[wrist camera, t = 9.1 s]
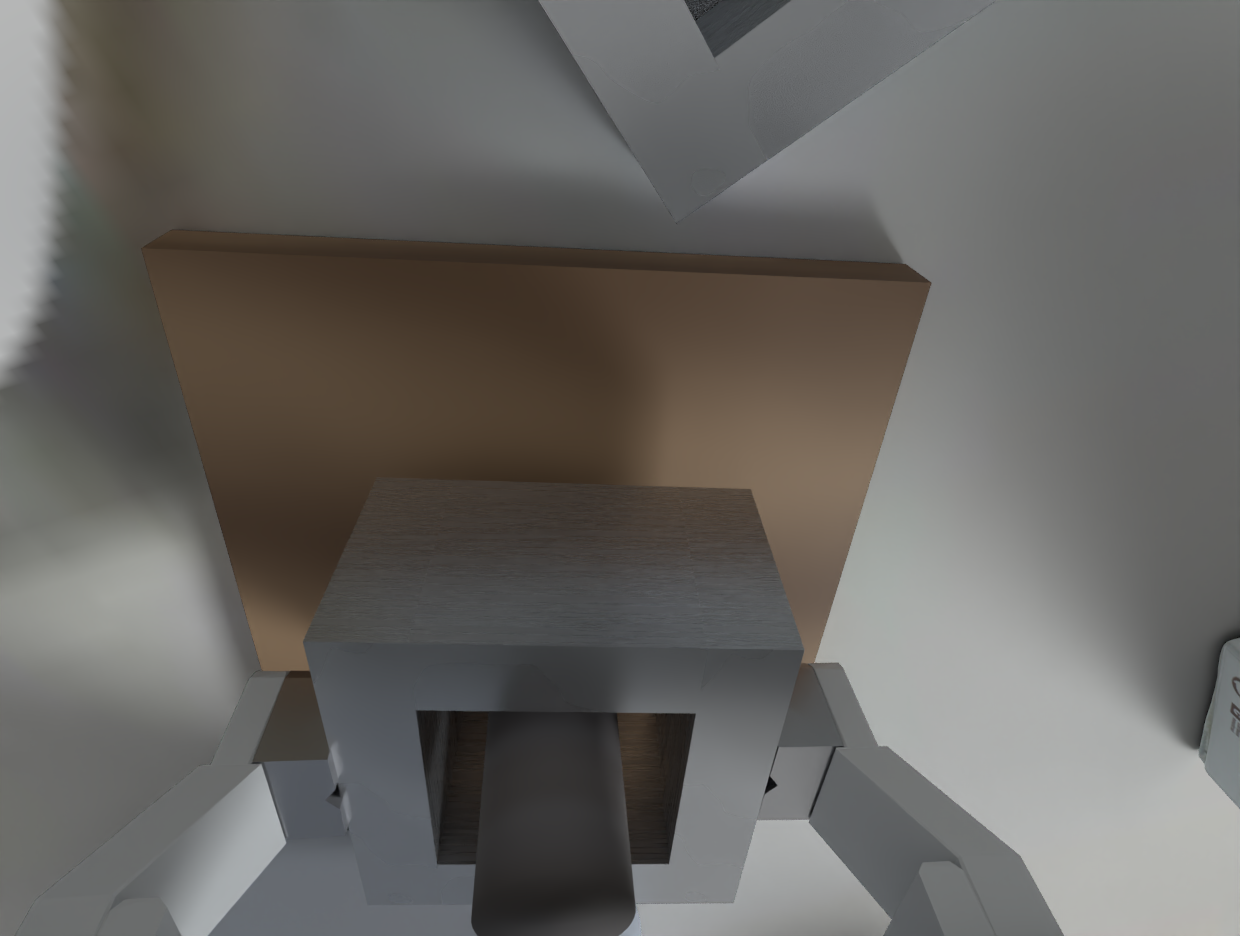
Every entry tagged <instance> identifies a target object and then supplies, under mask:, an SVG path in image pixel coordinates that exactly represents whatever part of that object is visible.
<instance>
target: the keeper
mask: <svg viewBox="0 0 1240 936" xmlns="http://www.w3.org/2000/svg"><path fill="white" fill-rule="evenodd" d="M141 250H142V253H143V257H144V260H145V264H146V267H147V271H148V274H149V278H150V281H151V285H152V288H153V292H154V295H155V299H156V302H157V306H158V309H159V313H160V316H161V320H162V323H163V327H164V330H165V334H166V337H167V341H168V344H169V348H170V351H171V355H172V358H173V362H174V365H175V369H176V372H177V376H178V379H179V383H180V386H181V390H182V393H183V397H184V400H185V404H186V407H187V411H188V414H189V418H190V421H191V425H192V428H193V432H194V435H195V439H196V442H197V446H198V449H199V453H200V456H201V460H202V463H203V467H204V470H205V474H206V477H207V481H208V484H209V488H210V491H211V495H212V498H213V502H214V505H215V509H216V512H217V516H218V519H219V523H220V526H221V530H222V533H223V537H224V540H225V544H226V547H227V551H228V554H229V558H230V561H231V565H232V568H233V572H234V575H235V579H236V582H237V586H238V589H239V593H240V596H241V600H242V603H243V607H244V610H245V614H246V617H247V621H248V624H249V628H250V631H251V635H252V638H253V642H254V645H255V649H256V652H257V656H258V659H259V663H260V666H261V670H262V671H310V669H309V665H308V661H307V657H306V653H305V649H304V645H303V640H304V638H305V635H306V633H307V631H308V629H309V627H310V624H311V622H312V620H313V618H314V615H315V613H316V611H317V609H318V607H319V604H320V602H321V600H322V598H323V596H324V593H325V591H326V589H327V587H328V584H329V582H330V580H331V578H332V576H333V573H334V571H335V569H336V567H337V565H338V562H339V560H340V558H341V556H342V553H343V551H344V549H345V547H346V545H347V542H348V540H349V538H350V536H351V534H352V531H353V529H354V527H355V525H356V522H357V520H358V518H359V516H360V514H361V511H362V509H363V507H364V505H365V503H366V500H367V498H368V496H369V494H370V491H371V489H372V487H373V485H374V483H375V480H376V478H377V477H379V478H412V479H444V480H476V481H508V482H540V483H573V484H605V485H637V486H669V487H701V488H733V489H751V491H752V494H753V497H754V500H755V503H756V506H757V509H758V512H759V515H760V518H761V521H762V524H763V527H764V530H765V533H766V536H767V539H768V542H769V545H770V548H771V551H772V554H773V557H774V560H775V563H776V566H777V569H778V572H779V575H780V578H781V581H782V584H783V587H784V590H785V593H786V596H787V599H788V602H789V605H790V608H791V611H792V614H793V617H794V620H795V623H796V626H797V629H798V632H799V635H800V638H801V641H802V644H803V647H804V654H803V658H802V661H801V663H806V664H808V663H814V662H815V658H816V655H817V652H818V649H819V645H820V642H821V639H822V636H823V632H824V629H825V626H826V623H827V619H828V616H829V613H830V610H831V606H832V603H833V600H834V597H835V594H836V590H837V587H838V584H839V581H840V577H841V574H842V571H843V568H844V564H845V561H846V558H847V555H848V551H849V548H850V545H851V542H852V538H853V535H854V532H855V529H856V525H857V522H858V519H859V516H860V512H861V509H862V506H863V503H864V499H865V496H866V493H867V490H868V487H869V483H870V480H871V477H872V474H873V470H874V467H875V464H876V461H877V457H878V454H879V451H880V448H881V444H882V441H883V438H884V435H885V431H886V428H887V425H888V422H889V418H890V415H891V412H892V409H893V405H894V402H895V399H896V396H897V392H898V389H899V386H900V383H901V380H902V376H903V373H904V370H905V367H906V363H907V360H908V357H909V354H910V350H911V347H912V344H913V341H914V337H915V334H916V331H917V328H918V324H919V321H920V318H921V315H922V311H923V308H924V305H925V302H926V298H927V295H928V292H929V289H930V285H931V282H930V281H928V280H927V279H925V278H924V277H923V276H921V275H920V274H919V273H917V272H916V271H915V270H913V269H912V268H910V267H909V266H908V265H906V264H894V263H873V262H851V261H830V260H808V259H787V258H765V257H744V256H722V255H701V254H679V253H658V252H636V251H615V250H593V249H572V248H550V247H529V246H507V245H486V244H464V243H443V242H421V241H400V240H378V239H357V238H335V237H314V236H292V235H270V234H249V233H227V232H206V231H184V230H171V231H169V232H167V233H166V234H164V235H162V236H161V237H159V238H157V239H156V240H154V241H152V242H151V243H149V244H147V245H146V246H144V247H142V248H141ZM635 913H636V905H635V895H634V884H633V874H632V864H631V853H630V843H629V833H628V822H627V812H626V802H625V791H624V781H623V771H622V760H621V750H620V740H619V729H618V719H617V713H610V712H520V711H489V712H488V724H487V736H486V747H485V759H484V771H483V783H482V795H481V807H480V819H479V831H478V843H477V854H476V866H475V878H474V890H473V902H472V914H471V924H472V928H473V930H474V932H475V933H476V934H477V936H619V935H621V934H622V933H623V932H624V931H625V930H626V929H627V928H628V927H629V926H630V924H631V923H632V921H633V919H634V917H635Z"/></svg>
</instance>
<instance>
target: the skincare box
mask: <svg viewBox="0 0 1240 936" xmlns="http://www.w3.org/2000/svg"><path fill="white" fill-rule="evenodd" d="M1199 757H1200V758H1201V760H1202V761H1203V762H1204V764H1205V770H1206V772H1207V773H1208V775H1209V776H1210V777H1211V778H1212V779H1213V780H1214V781H1215V782H1216V784H1217V785H1218V786H1219V787H1220V788H1221V789H1222V790H1223V791H1224V792H1225V794H1226V795H1227V796H1228V797H1229V798H1230V799H1231V800H1232V801H1233V802H1234V803H1235V804H1236V805H1237V806H1238V807H1239V809H1240V638H1237V639H1233V640H1230V641H1227V642H1226V643H1225V644H1224V646H1223V648H1222V651H1221V654H1220V658H1219V665H1218V677H1217V681H1216V686H1215V690H1214V694H1213V698H1212V702H1211V705H1210V708H1209V711H1208V714H1207V717H1206V721H1205V725H1204V730H1203V735H1202V738H1201V744H1200V748H1199Z"/></svg>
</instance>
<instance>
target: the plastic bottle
mask: <svg viewBox="0 0 1240 936" xmlns="http://www.w3.org/2000/svg"><path fill="white" fill-rule="evenodd" d="M635 905H636V904H635ZM471 914H472V905H367V901H366V897H365V893H364V889H363V885H362V881H361V877H360V872H359V868H358V864H357V860H356V856H355V852H354V848H353V844H352V840H351V836H350V832H349V830H347V833H346V836H335V837H320V838H304V839H289V840H286V844H285V846H284V847H283V848H282V849H281V850H280V851H279V853H278V854H277V855H276V856H275V857H274V858H273V860H272V861H271V862H270V863H269V864H268V865H267V867H266V868H265V869H264V870H263V871H262V873H261V874H260V875H259V876H258V877H257V878H256V880H255V881H254V882H253V883H252V884H251V885H250V887H249V888H248V889H247V890H246V891H245V892H244V894H243V895H242V896H241V897H240V898H239V899H238V901H237V902H236V903H235V904H234V905H233V906H232V908H231V909H230V910H229V911H228V912H227V913H226V915H225V916H224V917H223V918H222V919H221V920H220V922H219V923H218V924H217V925H216V926H215V928H214V929H213V930H212V931H211V932H210V933H209V935H208V936H477V934H476V933H475V932H474V930H473V928H472V924H471ZM619 936H641V923H640V917H639V914H638V911H637V907H636V913H635V917H634V919H633V921H632V923H631V924H630V926H629V927H628V928H627V929H626V930H625V931H624V932H623V933H622V934H621V935H619Z"/></svg>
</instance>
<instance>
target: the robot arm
mask: <svg viewBox="0 0 1240 936" xmlns="http://www.w3.org/2000/svg"><path fill="white" fill-rule="evenodd" d="M337 781H338V776H337V772H336V768H335V764H334V760H333V756H332V752H331V749H329V746H328V742H327V738H326V734H325V730H324V726H323V722H322V718H321V714H320V710H319V706H318V702H317V698H316V694H315V690H314V685H313V681H312V677H311V673H310V671H256V672H255V673H254V674H253V675H252V676H251V678H250V679H249V680H248V682H247V684H246V686H245V689H244V691H243V693H242V695H241V697H240V700H239V702H238V704H237V706H236V709H235V711H234V713H233V715H232V717H231V720H230V722H229V724H228V726H227V729H226V731H225V733H224V735H223V738H222V740H221V742H220V744H219V746H218V749H217V751H216V753H215V755H214V758H213V760H212V762H211V764H210V765H199V766H198V767H197V768H196V769H195V770H193V771H192V772H191V773H190V774H188V775H187V776H186V777H185V778H184V779H182V780H181V781H180V782H179V783H177V784H176V785H175V786H174V787H173V788H171V789H170V790H169V791H168V792H166V793H165V794H164V795H163V796H162V797H160V798H159V799H158V800H157V801H155V802H154V803H153V804H152V805H151V806H149V807H148V808H147V809H146V810H144V811H143V812H142V813H141V814H140V815H138V816H137V817H136V818H135V819H133V820H132V821H131V822H130V823H129V824H127V825H126V826H125V827H124V828H122V829H121V830H120V831H119V832H118V833H116V834H115V835H114V836H113V837H111V838H110V839H109V840H108V841H107V842H105V843H104V844H103V845H102V846H100V847H99V848H98V849H97V850H96V851H94V852H93V853H92V854H91V855H89V856H88V857H87V858H86V859H85V860H83V861H82V862H81V863H80V864H78V865H77V866H76V867H75V868H74V869H72V870H71V871H70V872H69V873H67V874H66V875H65V876H64V877H63V878H61V879H60V880H59V881H58V882H56V883H55V884H54V885H53V886H52V887H50V888H49V889H48V890H47V891H45V892H44V893H43V894H42V895H41V896H39V897H38V898H37V899H36V900H35V902H34V903H33V905H32V907H31V908H30V910H29V912H28V914H27V915H26V917H25V919H24V921H23V922H22V924H21V926H20V928H19V929H18V931H17V933H16V934H15V936H208V935H209V933H210V932H211V931H212V930H213V929H214V928H215V926H216V925H217V924H218V923H219V922H220V920H221V919H222V918H223V917H224V916H225V915H226V913H227V912H228V911H229V910H230V909H231V908H232V906H233V905H234V904H235V903H236V902H237V901H238V899H239V898H240V897H241V896H242V895H243V894H244V892H245V891H246V890H247V889H248V888H249V887H250V885H251V884H252V883H253V882H254V881H255V880H256V878H257V877H258V876H259V875H260V874H261V873H262V871H263V870H264V869H265V868H266V867H267V865H268V864H269V863H270V862H271V861H272V860H273V858H274V857H275V856H276V855H277V854H278V853H279V851H280V850H281V849H282V848H283V847H284V846H285V844H286V840H289V839H304V838H320V837H335V836H346V833H347V829H348V821H347V816H346V812H345V807H344V802H343V798H341V795H340V791H339V787H338V783H337ZM757 820H809V823H810V824H811V825H812V827H813V828H814V829H815V830H816V831H817V832H818V834H819V835H820V836H821V837H822V838H823V839H824V841H825V842H826V843H827V844H828V845H829V846H830V848H831V849H832V850H833V851H834V852H835V853H836V855H837V856H838V857H839V858H840V859H841V860H842V862H843V863H844V864H845V865H846V866H847V867H848V869H849V870H850V871H851V872H852V873H853V874H854V876H855V877H856V878H857V879H858V880H859V881H860V883H861V884H862V885H863V886H864V887H865V888H866V890H867V891H868V892H869V893H870V894H871V895H872V897H873V898H874V899H875V900H876V901H877V902H878V904H879V905H880V906H881V907H882V908H883V909H884V911H885V912H886V913H887V914H888V915H889V916H890V918H891V919H892V920H891V922H890V924H889V926H888V928H887V929H886V931H885V933H884V935H883V936H1064V935H1063V933H1062V931H1061V929H1060V927H1059V925H1058V924H1057V922H1056V920H1055V918H1054V916H1053V914H1052V913H1051V911H1050V909H1049V907H1048V905H1047V904H1046V902H1045V900H1044V898H1043V896H1042V894H1041V893H1040V891H1039V889H1038V887H1037V885H1036V884H1035V882H1034V880H1033V878H1032V876H1031V874H1030V873H1029V871H1028V869H1027V867H1026V865H1025V864H1024V862H1023V860H1022V858H1021V856H1020V855H1018V854H1017V853H1016V852H1015V851H1014V850H1012V849H1011V848H1010V847H1009V846H1008V845H1006V844H1005V843H1004V842H1003V841H1001V840H1000V839H999V838H998V837H997V836H995V835H994V834H993V833H992V832H991V831H989V830H988V829H987V828H986V827H985V826H983V825H982V824H981V823H980V822H978V821H977V820H976V819H975V818H974V817H972V816H971V815H970V814H969V813H968V812H966V811H965V810H964V809H963V808H961V807H960V806H959V805H958V804H957V803H955V802H954V801H953V800H952V799H951V798H949V797H948V796H947V795H946V794H944V793H943V792H942V791H941V790H940V789H938V788H937V787H936V786H935V785H934V784H932V783H931V782H930V781H929V780H927V779H926V778H925V777H924V776H923V775H921V774H920V773H919V772H918V771H917V770H915V769H914V768H913V767H912V766H910V765H909V764H908V763H907V762H906V761H904V760H903V759H902V758H901V757H900V756H898V755H897V754H896V753H895V752H893V751H892V750H891V749H890V748H889V747H887V746H878V744H877V742H876V740H875V738H874V735H873V733H872V731H871V729H870V727H869V724H868V722H867V720H866V718H865V715H864V713H863V711H862V709H861V707H860V704H859V702H858V700H857V698H856V695H855V693H854V691H853V689H852V687H851V684H850V682H849V680H848V678H847V675H846V673H845V671H844V669H843V667H842V666H841V665H840V664H839V663H808V664H806V663H801V665H800V668H799V672H798V675H797V679H796V682H795V686H794V690H793V693H792V697H791V700H790V704H789V707H788V711H787V714H786V718H785V721H784V725H783V729H782V732H781V736H780V739H779V743H778V746H777V750H776V753H775V757H774V760H773V764H772V768H771V771H770V775H769V778H768V782H767V785H766V789H765V792H764V796H763V799H762V803H761V807H760V810H759V814H758V817H757Z"/></svg>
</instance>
